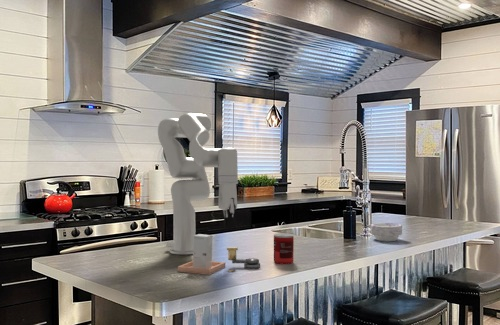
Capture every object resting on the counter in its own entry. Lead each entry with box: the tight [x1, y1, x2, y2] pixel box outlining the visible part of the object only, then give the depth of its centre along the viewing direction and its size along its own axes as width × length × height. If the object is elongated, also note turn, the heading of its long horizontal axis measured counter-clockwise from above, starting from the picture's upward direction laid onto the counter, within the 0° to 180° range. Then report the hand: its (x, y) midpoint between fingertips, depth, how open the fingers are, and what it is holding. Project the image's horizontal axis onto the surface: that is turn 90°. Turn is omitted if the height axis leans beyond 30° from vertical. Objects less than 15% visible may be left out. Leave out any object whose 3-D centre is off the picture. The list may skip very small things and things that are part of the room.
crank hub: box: [243, 262, 261, 270], centre depth 190 cm, size 6×6×1 cm
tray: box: [177, 260, 226, 275], centre depth 187 cm, size 13×13×2 cm
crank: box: [226, 246, 260, 264], centre depth 191 cm, size 12×5×6 cm, turn 87°
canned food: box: [273, 232, 295, 265], centre depth 199 cm, size 8×8×11 cm
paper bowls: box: [370, 222, 403, 242], centre depth 253 cm, size 15×15×8 cm
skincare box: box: [192, 233, 213, 269], centre depth 187 cm, size 6×4×12 cm
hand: (228, 227), depth 195 cm, fingers closed
